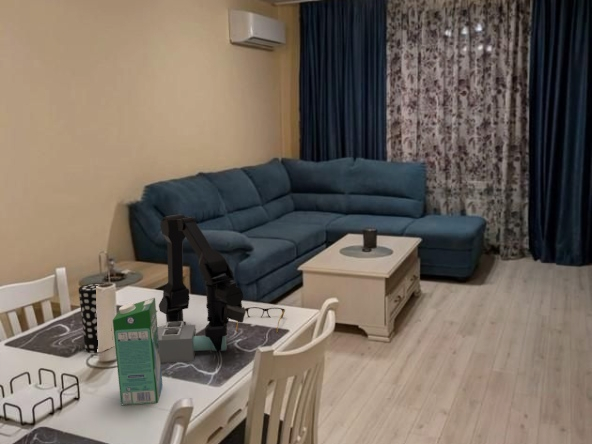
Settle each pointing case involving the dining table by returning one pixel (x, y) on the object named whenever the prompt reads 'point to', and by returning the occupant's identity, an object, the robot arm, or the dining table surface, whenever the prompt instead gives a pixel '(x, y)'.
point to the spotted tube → (89, 316)
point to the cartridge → (206, 343)
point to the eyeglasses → (267, 313)
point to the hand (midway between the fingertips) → (219, 347)
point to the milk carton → (138, 353)
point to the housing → (176, 343)
